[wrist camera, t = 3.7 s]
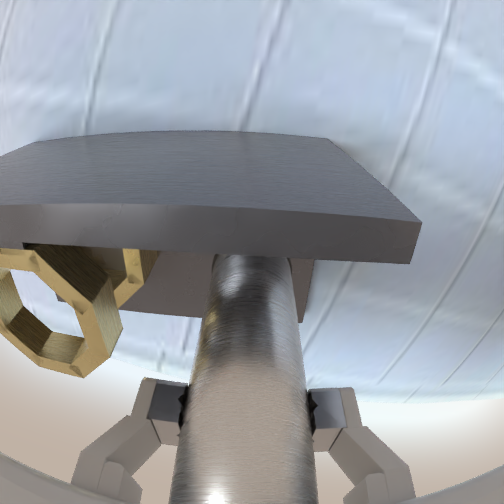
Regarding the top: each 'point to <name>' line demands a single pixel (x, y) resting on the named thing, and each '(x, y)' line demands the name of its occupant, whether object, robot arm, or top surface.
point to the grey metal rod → (247, 393)
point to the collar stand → (175, 225)
